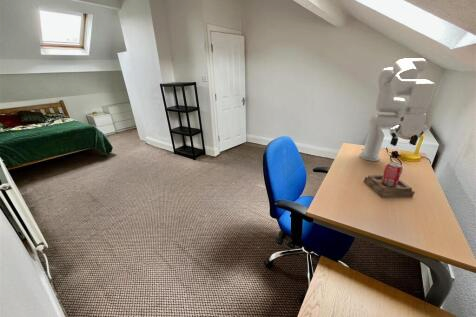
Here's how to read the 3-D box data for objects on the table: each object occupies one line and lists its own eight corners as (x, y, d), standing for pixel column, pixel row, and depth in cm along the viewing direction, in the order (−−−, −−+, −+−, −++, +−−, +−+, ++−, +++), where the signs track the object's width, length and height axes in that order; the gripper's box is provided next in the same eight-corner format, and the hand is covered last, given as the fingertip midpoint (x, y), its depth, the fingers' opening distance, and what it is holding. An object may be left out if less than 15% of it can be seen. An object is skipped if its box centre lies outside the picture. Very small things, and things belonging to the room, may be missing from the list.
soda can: (391, 180, 112) (398, 161, 107) (399, 187, 106) (407, 167, 101) (378, 180, 113) (384, 161, 108) (385, 187, 107) (392, 167, 102)
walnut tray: (363, 181, 118) (365, 174, 116) (390, 180, 118) (392, 173, 116) (382, 197, 103) (385, 190, 101) (412, 196, 104) (415, 189, 102)
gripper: (403, 112, 88) (390, 148, 96) (441, 111, 89) (426, 147, 96) (390, 109, 95) (380, 142, 103) (426, 108, 96) (413, 141, 103)
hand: (402, 144), depth 100 cm, fingers open, 9 cm apart
